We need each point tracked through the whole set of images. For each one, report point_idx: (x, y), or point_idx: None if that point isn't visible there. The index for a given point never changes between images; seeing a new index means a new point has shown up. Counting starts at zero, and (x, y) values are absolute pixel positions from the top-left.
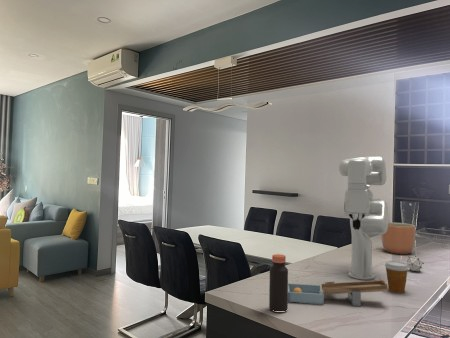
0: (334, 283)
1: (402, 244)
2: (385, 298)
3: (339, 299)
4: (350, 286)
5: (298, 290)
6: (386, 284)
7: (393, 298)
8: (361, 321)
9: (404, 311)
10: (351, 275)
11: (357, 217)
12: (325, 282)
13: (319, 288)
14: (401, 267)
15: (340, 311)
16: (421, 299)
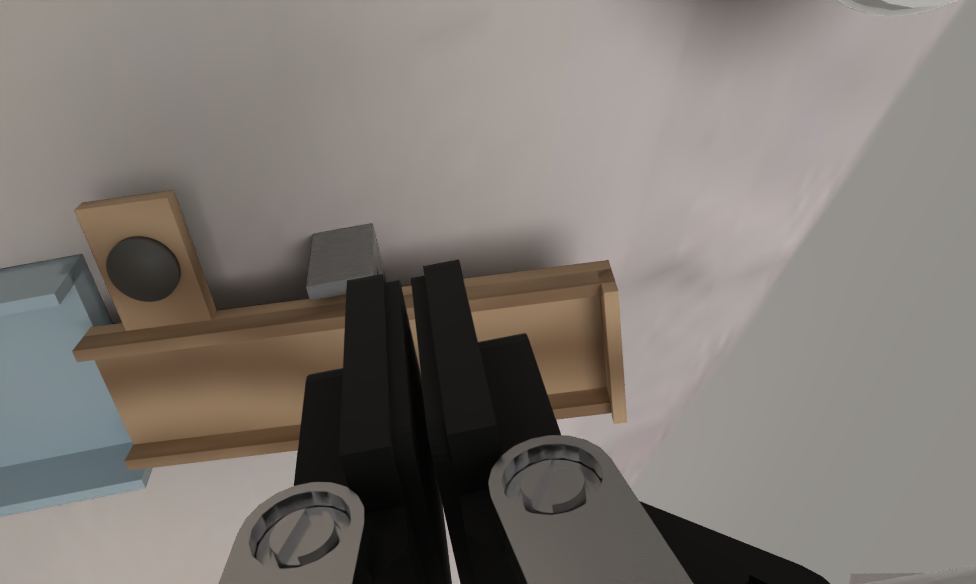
0: (190, 344)
1: None
2: (613, 139)
3: (255, 296)
4: (333, 335)
5: None
6: (619, 419)
7: (678, 114)
8: None
9: (672, 351)
10: None
11: (505, 536)
12: (86, 220)
13: (62, 292)
14: (942, 1)
15: None
16: (897, 55)
